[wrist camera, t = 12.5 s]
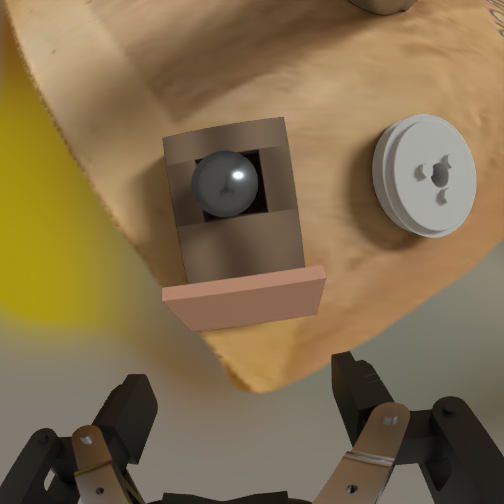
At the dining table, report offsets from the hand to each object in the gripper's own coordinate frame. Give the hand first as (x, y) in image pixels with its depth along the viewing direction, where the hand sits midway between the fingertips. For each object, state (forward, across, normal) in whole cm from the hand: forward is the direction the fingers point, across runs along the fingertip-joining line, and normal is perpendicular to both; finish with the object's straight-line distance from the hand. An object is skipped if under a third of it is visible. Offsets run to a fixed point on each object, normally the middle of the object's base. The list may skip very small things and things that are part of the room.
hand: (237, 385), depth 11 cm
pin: (+19, 0, -8) cm, 20 cm away
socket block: (+19, 0, -5) cm, 19 cm away
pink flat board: (+11, 0, 0) cm, 11 cm away
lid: (+19, -20, -7) cm, 29 cm away
